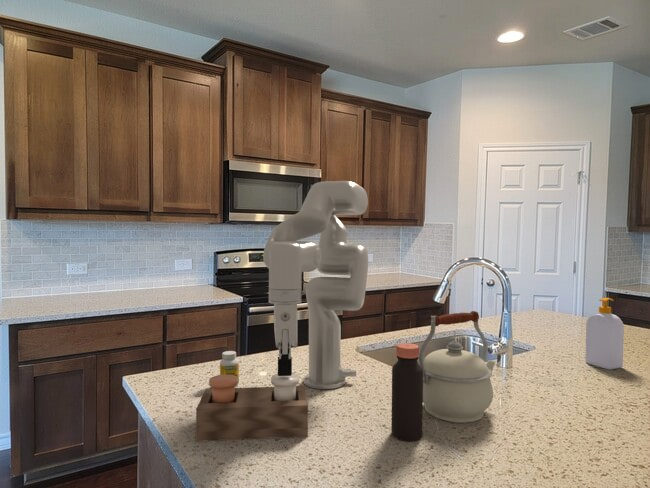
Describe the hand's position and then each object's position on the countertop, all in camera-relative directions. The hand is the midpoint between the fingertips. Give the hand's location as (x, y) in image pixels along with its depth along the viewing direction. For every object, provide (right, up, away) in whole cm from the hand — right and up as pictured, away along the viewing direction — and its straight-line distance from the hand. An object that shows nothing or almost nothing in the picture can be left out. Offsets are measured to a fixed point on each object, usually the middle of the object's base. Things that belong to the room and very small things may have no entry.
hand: (284, 374), depth 101 cm
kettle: (+43, -12, +10) cm, 46 cm away
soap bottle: (+105, -11, +48) cm, 116 cm away
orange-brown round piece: (-14, -7, -1) cm, 15 cm away
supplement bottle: (-19, -11, +27) cm, 35 cm away
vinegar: (+28, -13, -4) cm, 30 cm away
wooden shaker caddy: (-7, -12, 0) cm, 14 cm away
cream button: (0, -7, 0) cm, 7 cm away
